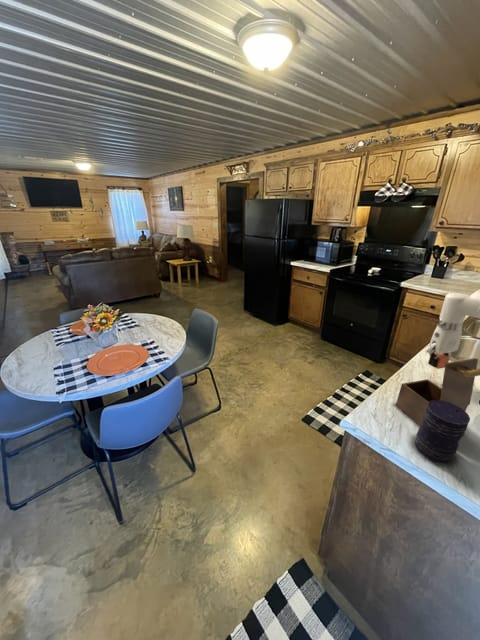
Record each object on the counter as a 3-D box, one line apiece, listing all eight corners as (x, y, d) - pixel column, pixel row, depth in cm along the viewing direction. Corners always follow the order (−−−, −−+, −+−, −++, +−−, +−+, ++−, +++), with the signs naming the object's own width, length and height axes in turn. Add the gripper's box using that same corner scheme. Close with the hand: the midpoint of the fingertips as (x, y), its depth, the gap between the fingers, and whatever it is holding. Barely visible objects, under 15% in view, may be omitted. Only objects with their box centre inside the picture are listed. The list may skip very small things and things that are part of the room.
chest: (395, 405, 98) (401, 383, 94) (420, 400, 101) (427, 379, 97) (430, 435, 85) (439, 411, 81) (458, 428, 88) (468, 405, 84)
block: (436, 361, 112) (439, 352, 110) (446, 367, 108) (450, 357, 106) (427, 363, 111) (430, 353, 109) (437, 368, 107) (440, 359, 105)
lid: (445, 362, 78) (462, 369, 73) (475, 358, 80) (493, 363, 76) (438, 409, 81) (454, 418, 77) (467, 403, 84) (484, 411, 79)
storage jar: (429, 465, 75) (445, 425, 69) (406, 437, 84) (419, 400, 78) (461, 463, 76) (480, 423, 70) (436, 436, 85) (450, 398, 79)
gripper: (441, 330, 97) (428, 372, 104) (476, 325, 101) (462, 366, 108) (423, 323, 104) (413, 363, 111) (457, 319, 108) (445, 357, 115)
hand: (437, 364), depth 109 cm, fingers closed on block, 4 cm apart
